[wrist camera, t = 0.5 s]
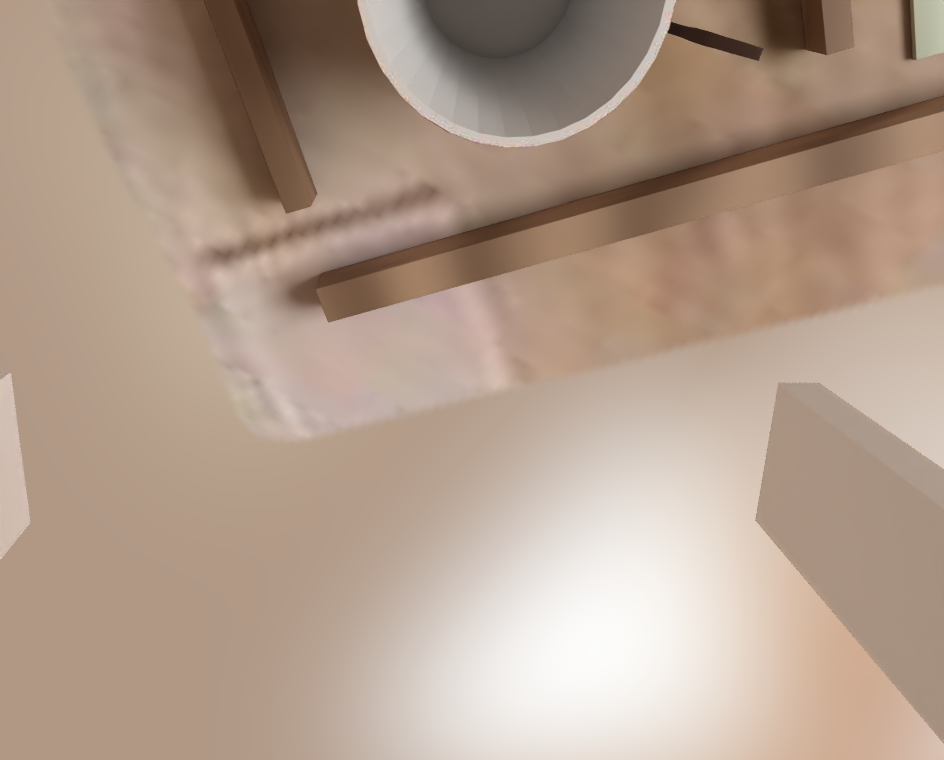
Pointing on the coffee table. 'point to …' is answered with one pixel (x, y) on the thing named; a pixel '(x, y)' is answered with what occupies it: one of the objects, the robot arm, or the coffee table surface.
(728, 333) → the coffee table surface
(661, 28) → the coffee mug
